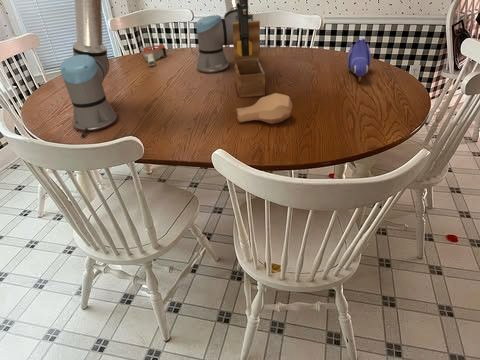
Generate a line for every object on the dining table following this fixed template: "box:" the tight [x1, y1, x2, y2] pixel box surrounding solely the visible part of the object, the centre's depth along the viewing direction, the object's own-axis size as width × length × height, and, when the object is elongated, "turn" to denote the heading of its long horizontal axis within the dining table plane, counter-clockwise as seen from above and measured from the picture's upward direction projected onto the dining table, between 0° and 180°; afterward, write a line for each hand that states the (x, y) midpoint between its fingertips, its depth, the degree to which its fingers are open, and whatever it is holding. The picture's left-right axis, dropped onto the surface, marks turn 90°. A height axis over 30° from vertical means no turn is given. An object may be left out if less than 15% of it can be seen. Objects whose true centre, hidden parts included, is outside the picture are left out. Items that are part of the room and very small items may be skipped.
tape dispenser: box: [140, 44, 167, 67], centre depth 190 cm, size 18×5×20 cm
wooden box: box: [233, 60, 266, 99], centre depth 149 cm, size 17×11×9 cm, turn 6°
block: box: [237, 41, 252, 56], centre depth 138 cm, size 4×4×4 cm
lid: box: [232, 13, 261, 62], centre depth 149 cm, size 17×11×9 cm
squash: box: [236, 92, 293, 125], centre depth 125 cm, size 11×20×9 cm, turn 92°
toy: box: [346, 38, 372, 83], centre depth 153 cm, size 10×17×25 cm
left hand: (244, 53), depth 139 cm, fingers closed on block, 5 cm apart
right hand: (244, 29), depth 148 cm, fingers closed on lid, 2 cm apart
